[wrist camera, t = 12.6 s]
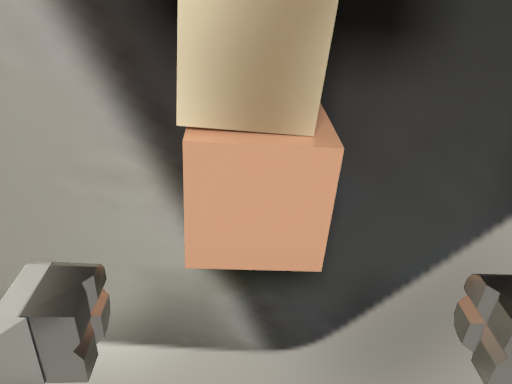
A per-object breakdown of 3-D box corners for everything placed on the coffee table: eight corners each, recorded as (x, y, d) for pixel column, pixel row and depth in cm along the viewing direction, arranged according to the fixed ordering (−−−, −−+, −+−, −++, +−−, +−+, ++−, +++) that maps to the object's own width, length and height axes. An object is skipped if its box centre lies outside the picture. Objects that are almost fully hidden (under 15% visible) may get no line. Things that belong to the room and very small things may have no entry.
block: (196, 197, 18) (185, 268, 14) (195, 91, 16) (182, 141, 12) (303, 200, 18) (321, 271, 14) (317, 97, 16) (343, 148, 12)
